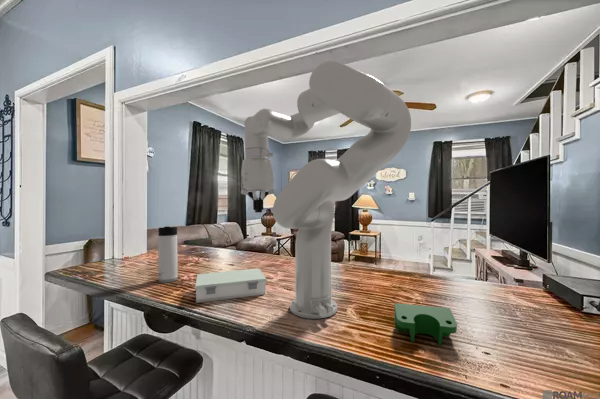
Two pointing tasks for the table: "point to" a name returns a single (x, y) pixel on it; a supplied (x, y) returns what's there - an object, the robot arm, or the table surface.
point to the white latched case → (230, 292)
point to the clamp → (424, 320)
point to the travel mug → (167, 254)
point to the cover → (229, 278)
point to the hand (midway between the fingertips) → (258, 212)
